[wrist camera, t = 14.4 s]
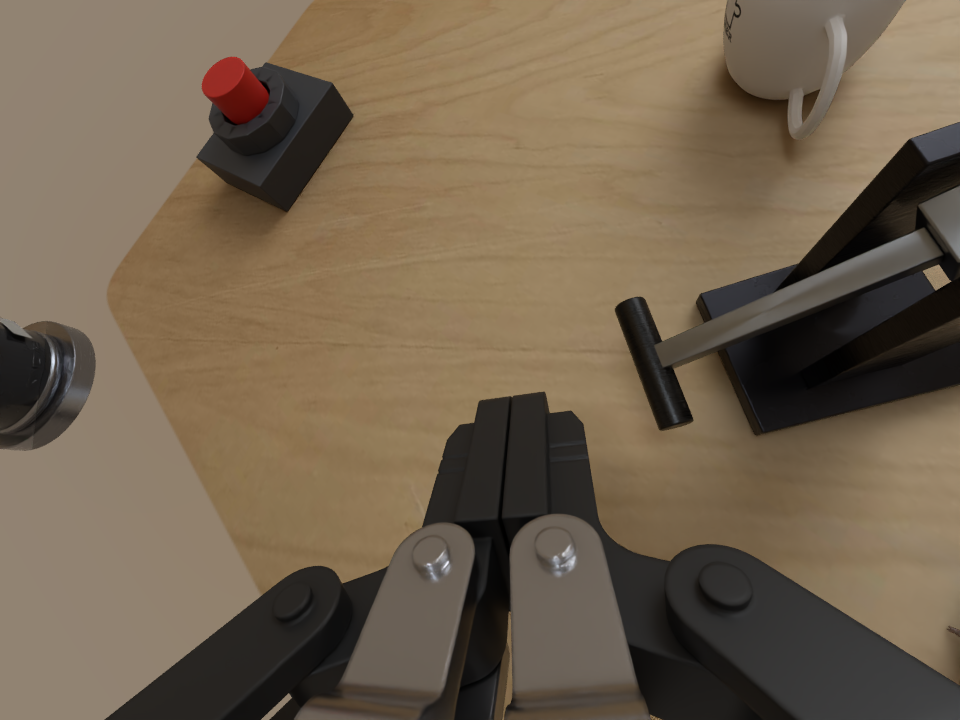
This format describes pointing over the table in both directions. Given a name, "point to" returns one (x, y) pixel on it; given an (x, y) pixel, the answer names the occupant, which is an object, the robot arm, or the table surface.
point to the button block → (278, 136)
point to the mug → (800, 48)
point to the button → (235, 90)
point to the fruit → (954, 630)
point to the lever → (787, 304)
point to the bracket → (854, 310)
